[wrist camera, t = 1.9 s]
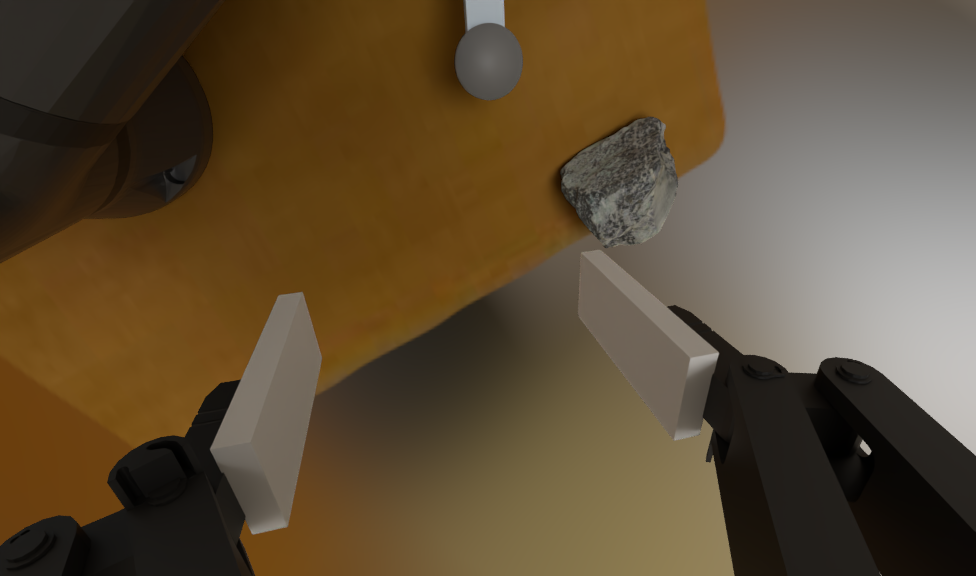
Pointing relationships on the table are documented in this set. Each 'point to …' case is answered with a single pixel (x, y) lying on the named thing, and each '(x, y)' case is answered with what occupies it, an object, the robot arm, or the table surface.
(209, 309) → the table surface
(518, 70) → the seesaw
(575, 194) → the stone
